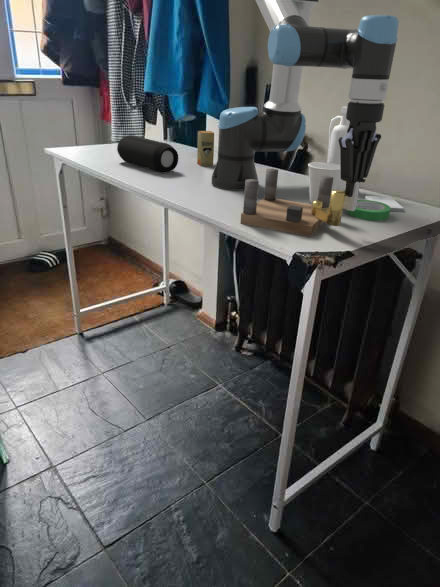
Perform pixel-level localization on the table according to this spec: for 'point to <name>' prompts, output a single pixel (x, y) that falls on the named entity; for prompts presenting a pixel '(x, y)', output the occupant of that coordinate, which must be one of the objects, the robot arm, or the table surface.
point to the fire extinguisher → (337, 142)
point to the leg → (330, 208)
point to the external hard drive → (387, 202)
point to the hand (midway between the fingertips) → (348, 209)
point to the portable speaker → (148, 153)
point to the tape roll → (370, 210)
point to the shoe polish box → (205, 148)
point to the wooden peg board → (282, 207)
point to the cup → (322, 170)
